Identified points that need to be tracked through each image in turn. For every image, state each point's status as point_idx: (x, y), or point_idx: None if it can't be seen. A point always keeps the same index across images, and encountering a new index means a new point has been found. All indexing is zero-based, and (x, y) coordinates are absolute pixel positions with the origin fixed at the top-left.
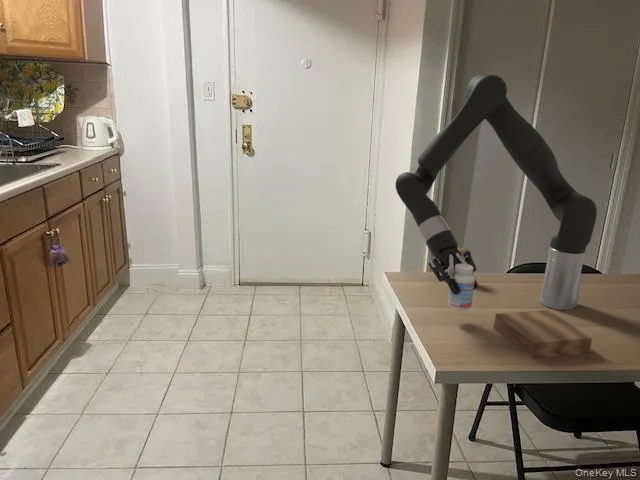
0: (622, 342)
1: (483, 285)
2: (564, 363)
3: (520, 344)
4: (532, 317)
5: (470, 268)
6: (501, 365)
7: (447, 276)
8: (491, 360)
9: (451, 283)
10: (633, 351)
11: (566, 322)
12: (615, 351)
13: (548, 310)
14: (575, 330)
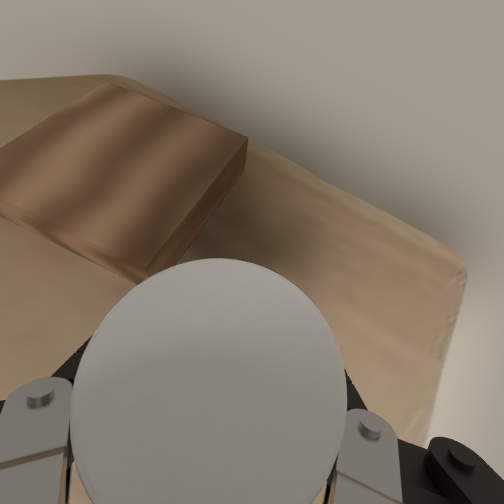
0: (4, 92)
1: None
2: None
3: (224, 189)
4: (77, 185)
5: (225, 271)
6: (326, 193)
7: (432, 447)
8: (330, 212)
9: (361, 403)
10: (42, 78)
11: (44, 125)
12: (69, 94)
13: None
14: (88, 104)
